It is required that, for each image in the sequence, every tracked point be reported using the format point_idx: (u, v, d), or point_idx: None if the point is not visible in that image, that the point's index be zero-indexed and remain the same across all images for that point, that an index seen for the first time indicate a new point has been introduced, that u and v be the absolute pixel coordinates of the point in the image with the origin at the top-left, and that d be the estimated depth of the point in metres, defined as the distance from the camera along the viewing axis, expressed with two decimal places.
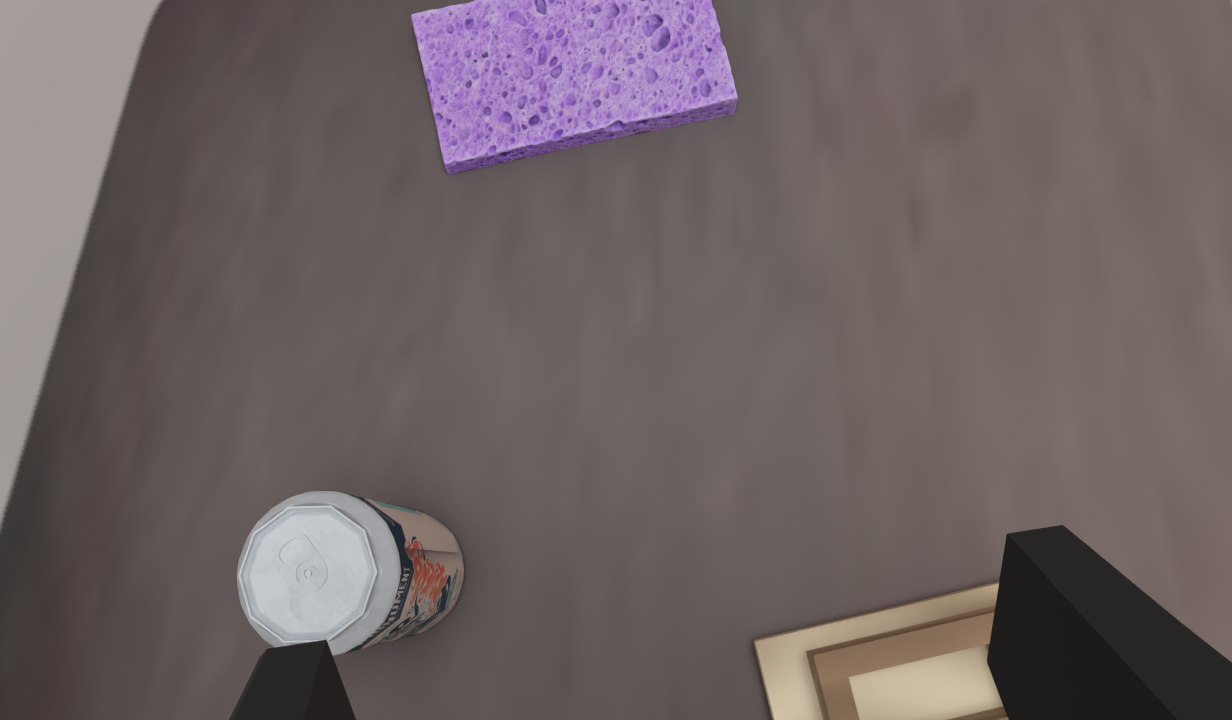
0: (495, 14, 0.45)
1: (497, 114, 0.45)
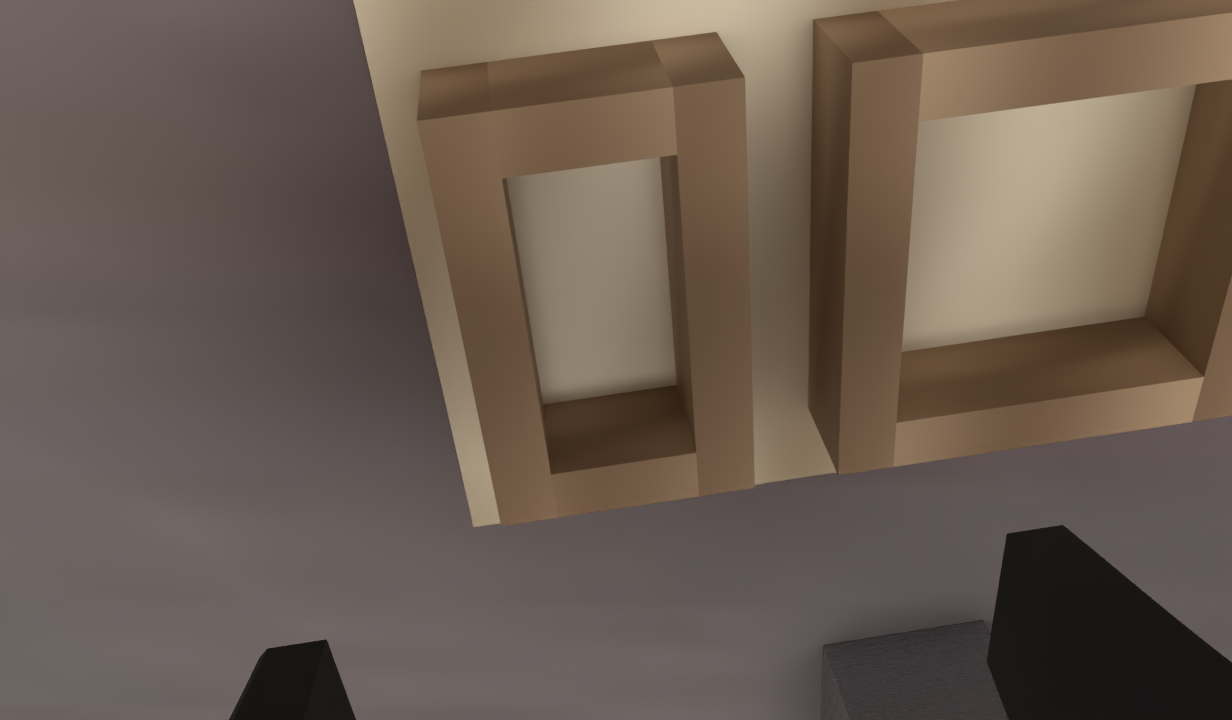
0: None
1: None
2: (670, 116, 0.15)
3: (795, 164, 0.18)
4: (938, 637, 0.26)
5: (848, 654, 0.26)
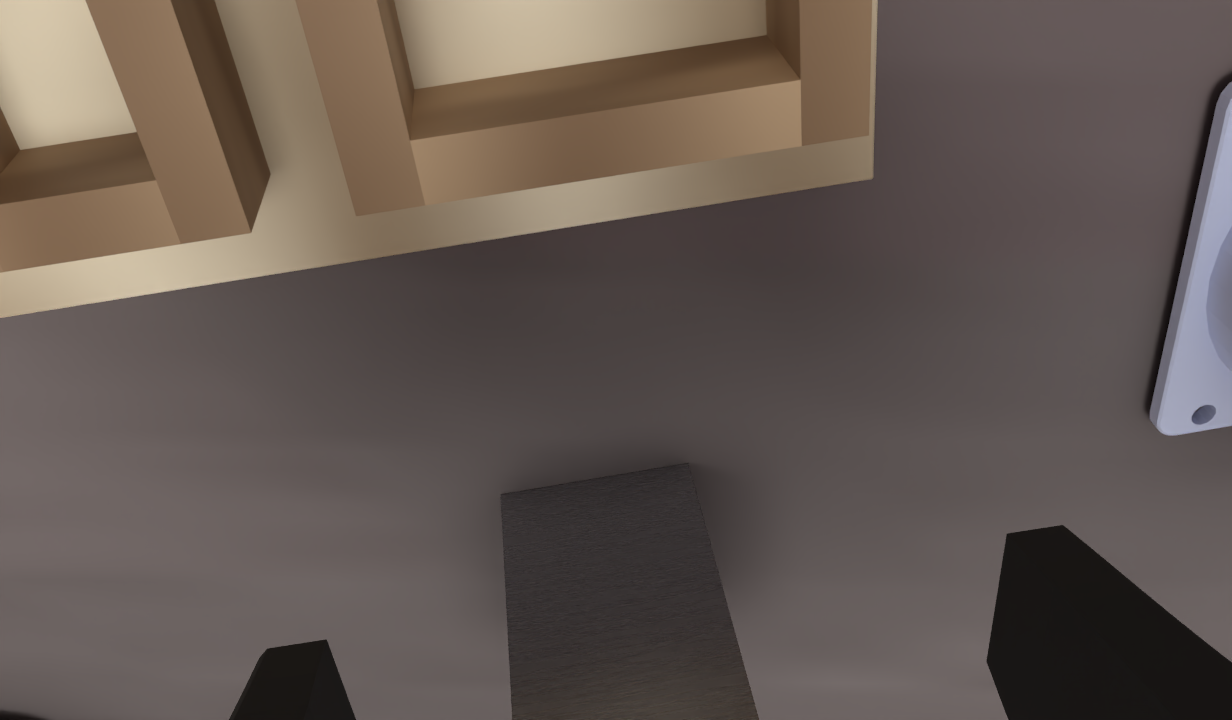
0: None
1: None
2: None
3: None
4: (632, 482, 0.23)
5: (525, 502, 0.22)
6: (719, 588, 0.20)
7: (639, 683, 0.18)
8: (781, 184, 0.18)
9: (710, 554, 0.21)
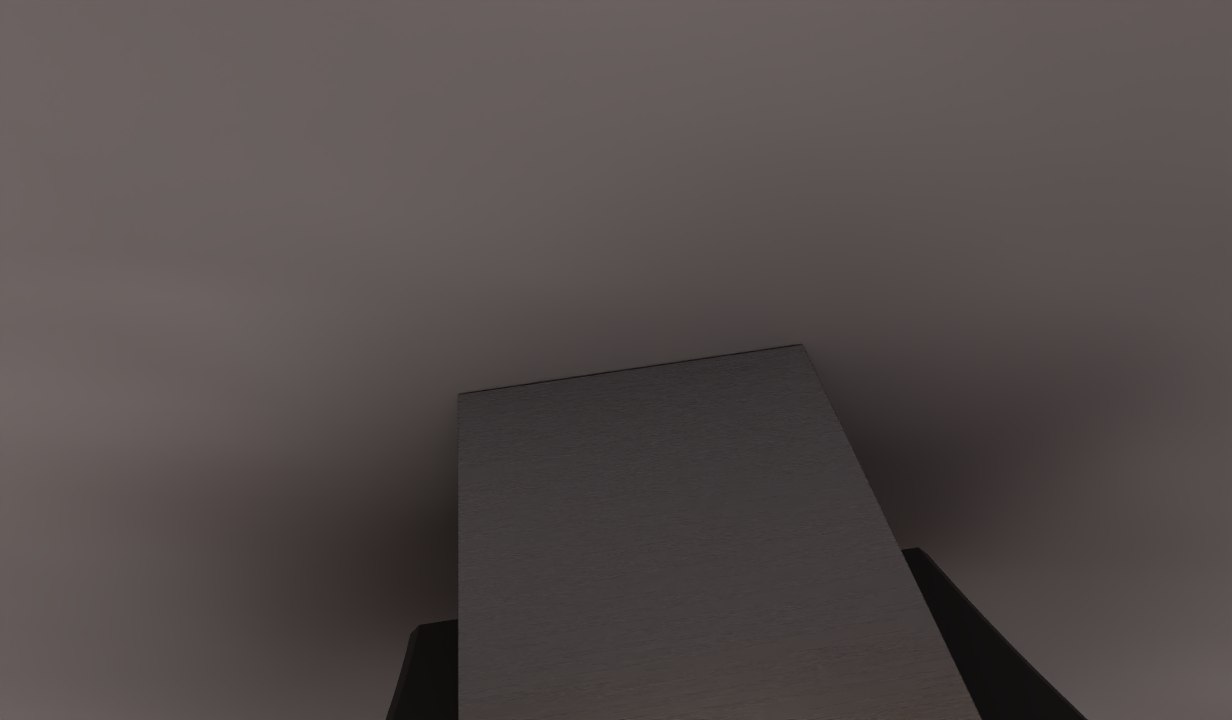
0: None
1: None
2: None
3: None
4: (702, 375, 0.12)
5: (504, 407, 0.12)
6: (900, 567, 0.10)
7: None
8: None
9: (872, 502, 0.10)
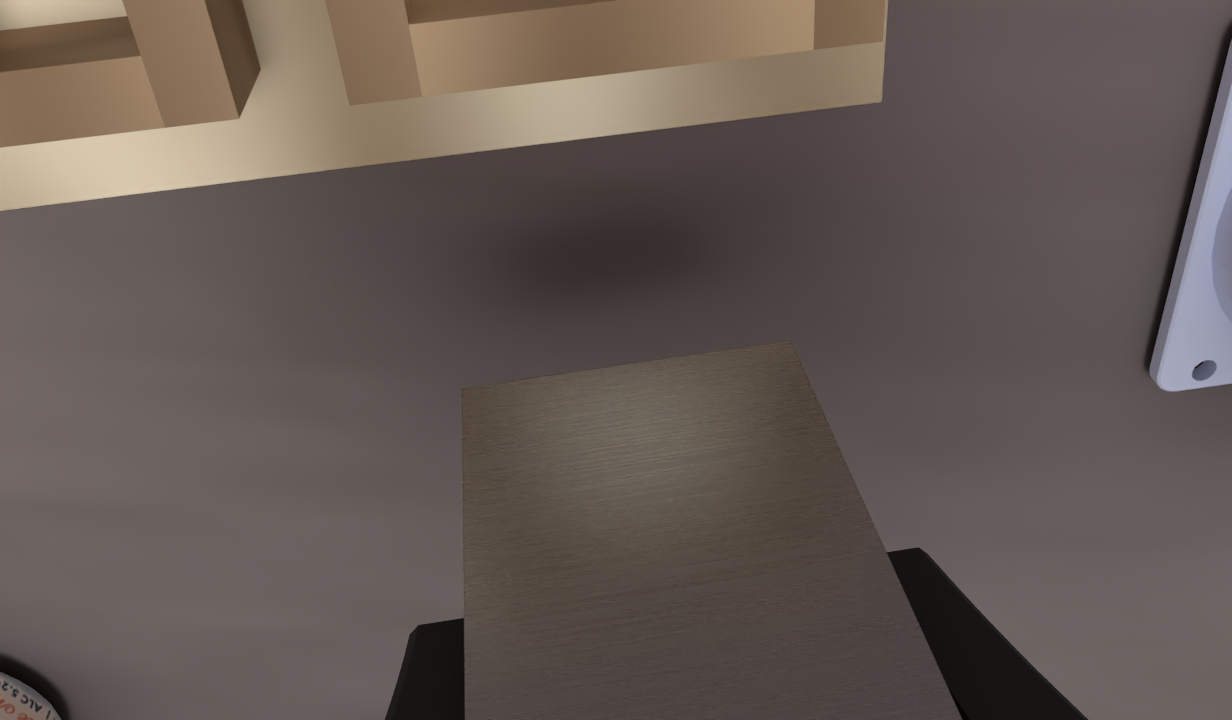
0: None
1: None
2: None
3: None
4: (694, 369, 0.13)
5: (505, 401, 0.13)
6: (877, 551, 0.10)
7: None
8: (788, 103, 0.18)
9: (853, 490, 0.11)
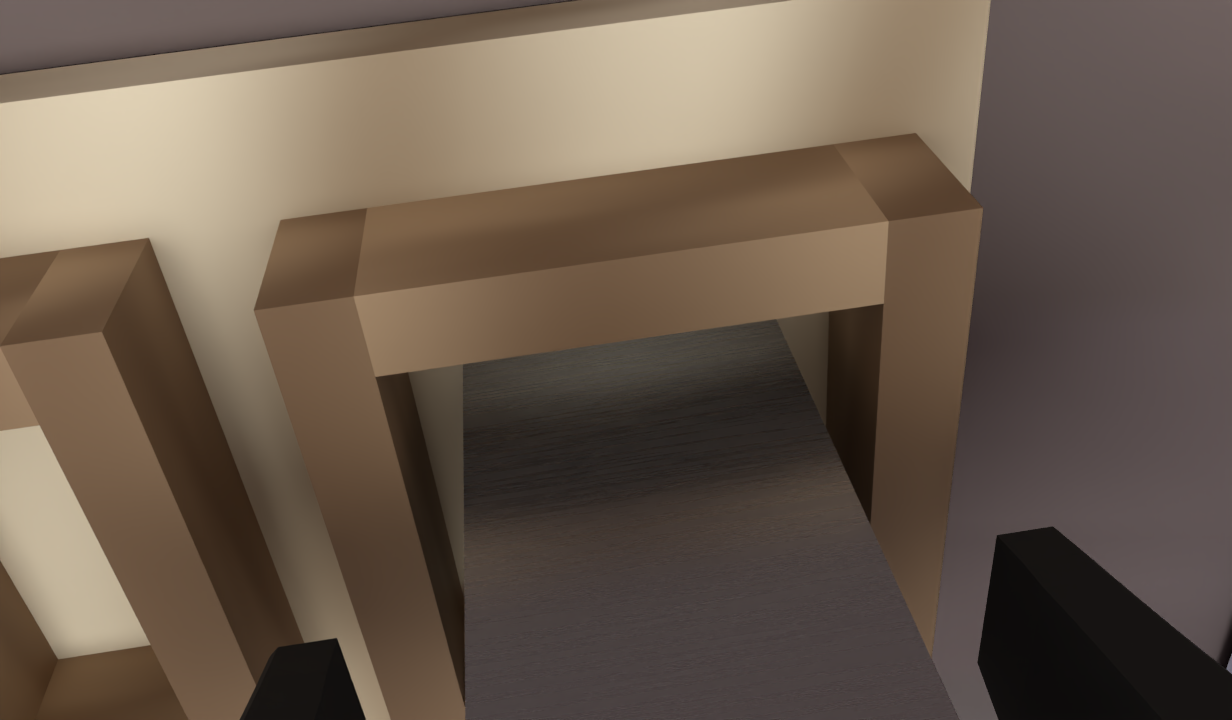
0: None
1: None
2: (10, 381, 0.11)
3: None
4: (680, 334, 0.14)
5: (504, 364, 0.14)
6: (847, 490, 0.11)
7: (715, 658, 0.09)
8: None
9: (825, 437, 0.12)
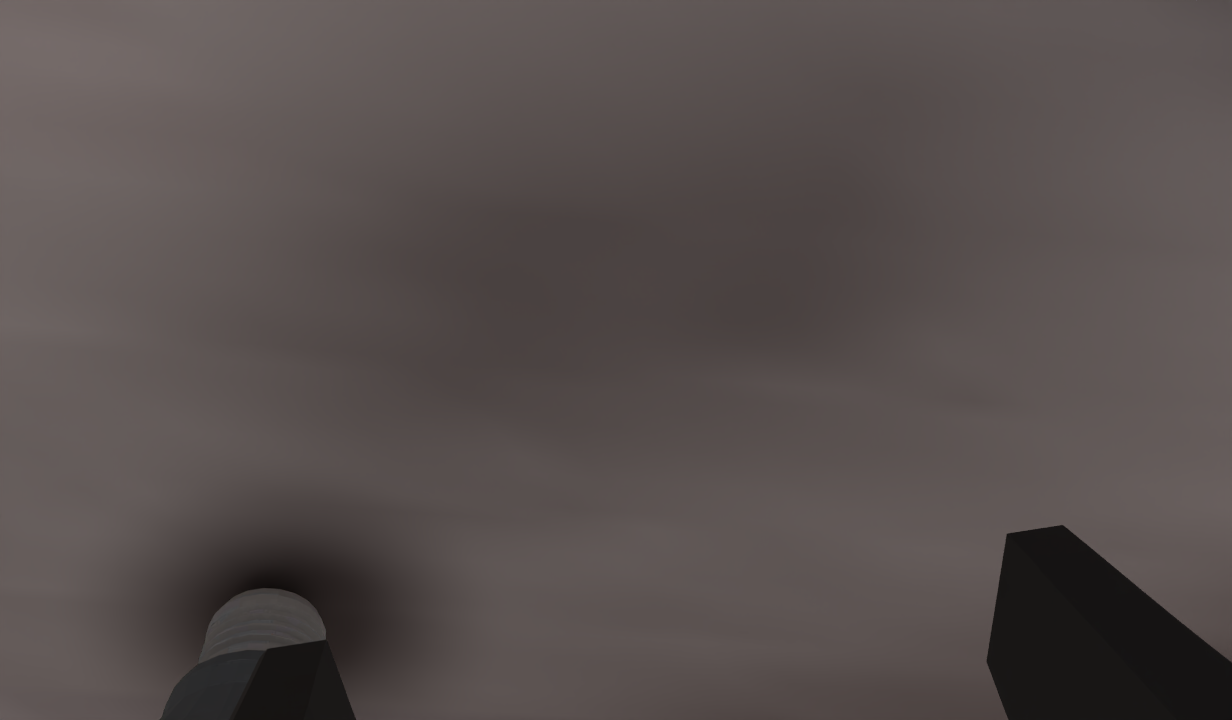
0: None
1: None
2: None
3: None
4: None
5: None
6: None
7: None
8: None
9: None
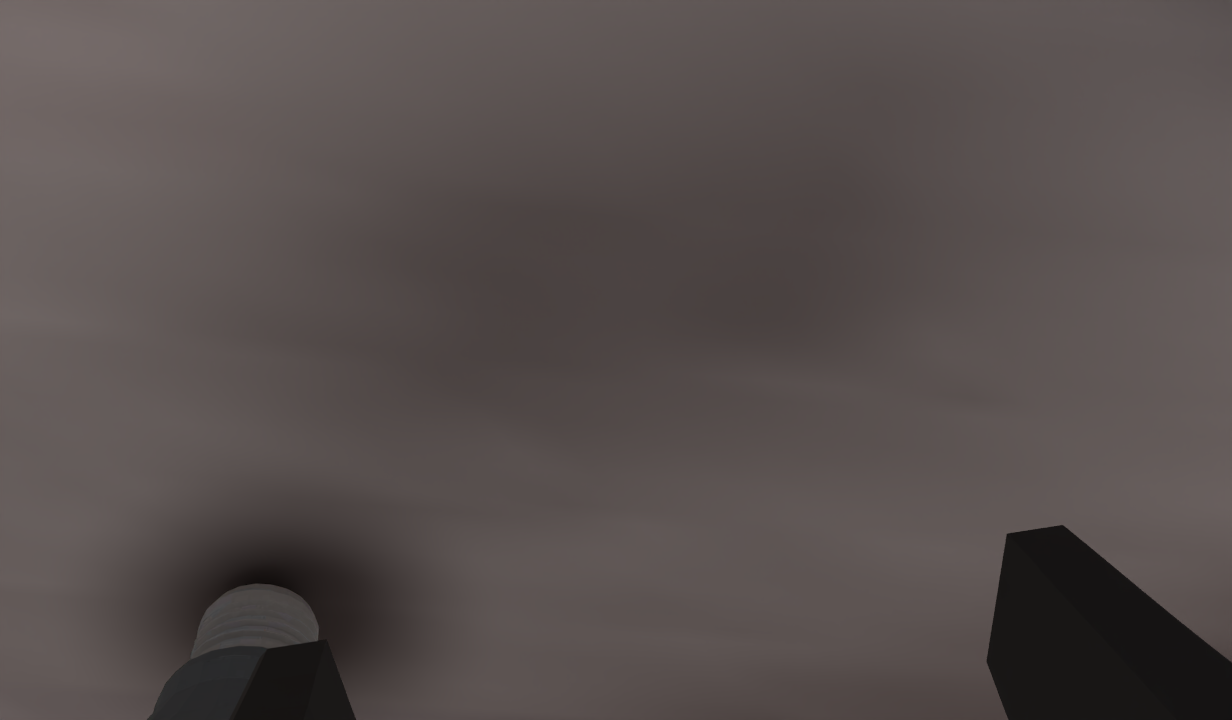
0: None
1: None
2: None
3: None
4: None
5: None
6: None
7: None
8: None
9: None
